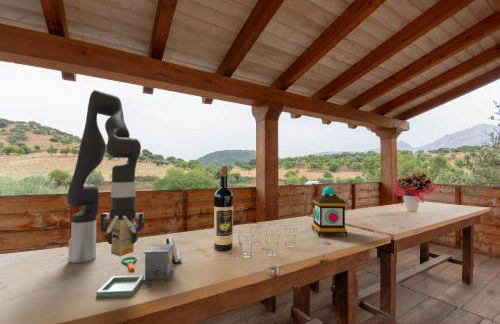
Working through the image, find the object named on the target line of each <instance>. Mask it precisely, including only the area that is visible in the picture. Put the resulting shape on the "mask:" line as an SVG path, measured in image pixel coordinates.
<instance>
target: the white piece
mask: <svg viewBox="0 0 500 324" xmlns="http://www.w3.org/2000/svg"><path fill="white" fill-rule="evenodd" d="M163 244H173V247H172V265H173V264H174V263H178V262H179V263H180V264H183V260H182V254H181V253H182V252H181V249H180V247H179V246H176V245H177V244H176V242H175V240H174V238H173V236H169V237H168V238H165V239H164V240H163Z"/></svg>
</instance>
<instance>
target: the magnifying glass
mask: <svg viewBox="0 0 500 324" xmlns="http://www.w3.org/2000/svg"><path fill="white" fill-rule="evenodd" d="M128 260H131V261H128ZM137 261H138V260H137V257H135V256H127V257H123V258H122V259H121V264H123V265H125V266H127V268H128V272H134V271H135V266H134V264H135V263H136V262H137Z"/></svg>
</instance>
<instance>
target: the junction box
mask: <svg viewBox="0 0 500 324" xmlns="http://www.w3.org/2000/svg"><path fill="white" fill-rule="evenodd" d="M172 247H173V244H164V243H160V244H158V243H157V244H150V246H149V247H147V248H146V250H145V251H144V252H143V254H145V256H144V279H143V282H144V283H145V282H167V281H168V282H170V281H169V280H170V279H171V277H172V276H173V275H172V274H173V272H174V271H175V268H173V264H172V257H173V256H172ZM143 282H142V283H143Z"/></svg>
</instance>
